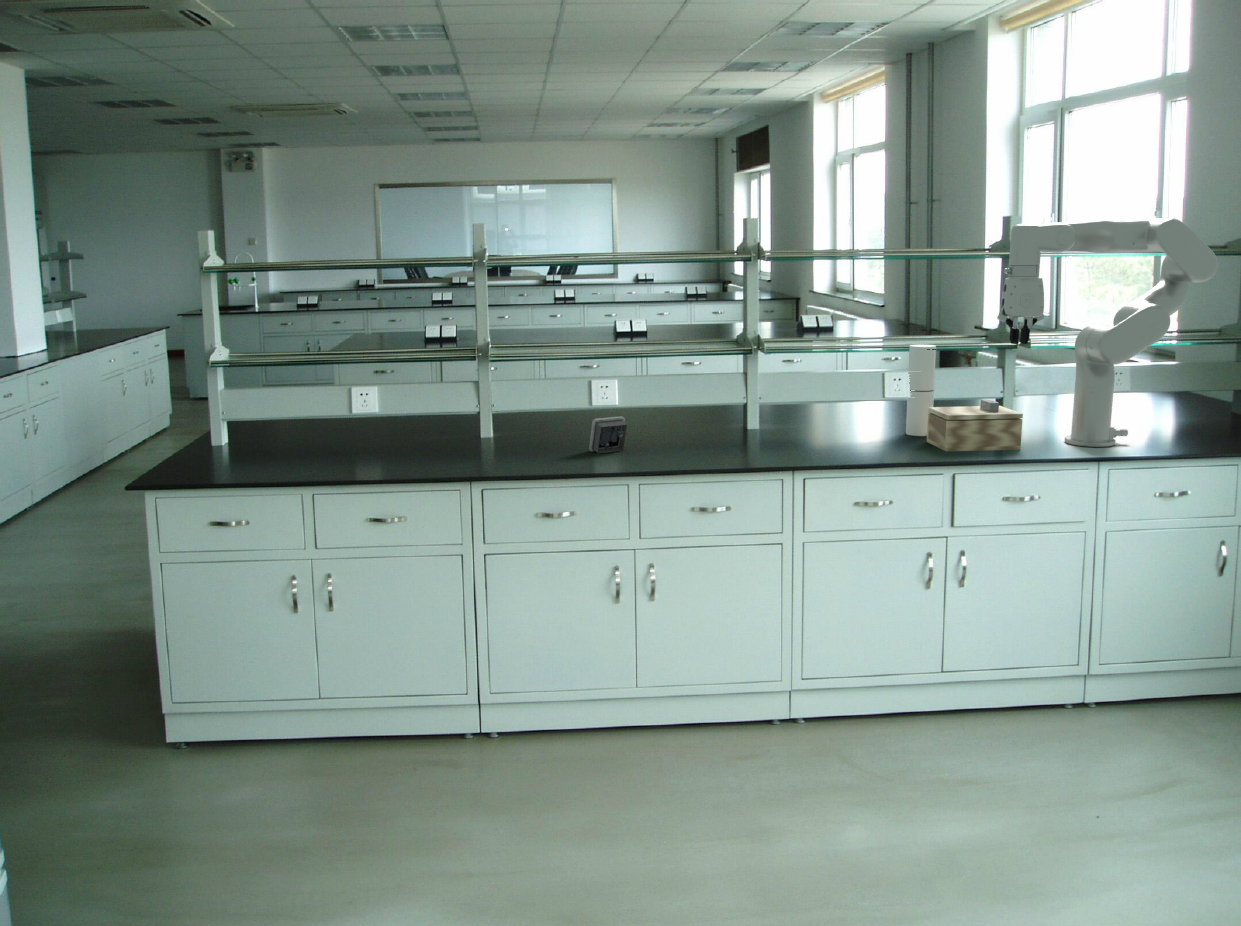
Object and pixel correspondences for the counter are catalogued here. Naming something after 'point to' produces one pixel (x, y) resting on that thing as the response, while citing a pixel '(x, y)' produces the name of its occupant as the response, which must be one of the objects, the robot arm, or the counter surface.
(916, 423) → the cylindrical container
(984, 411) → the lid
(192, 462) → the counter surface
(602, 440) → the electrical switch
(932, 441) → the wooden box
